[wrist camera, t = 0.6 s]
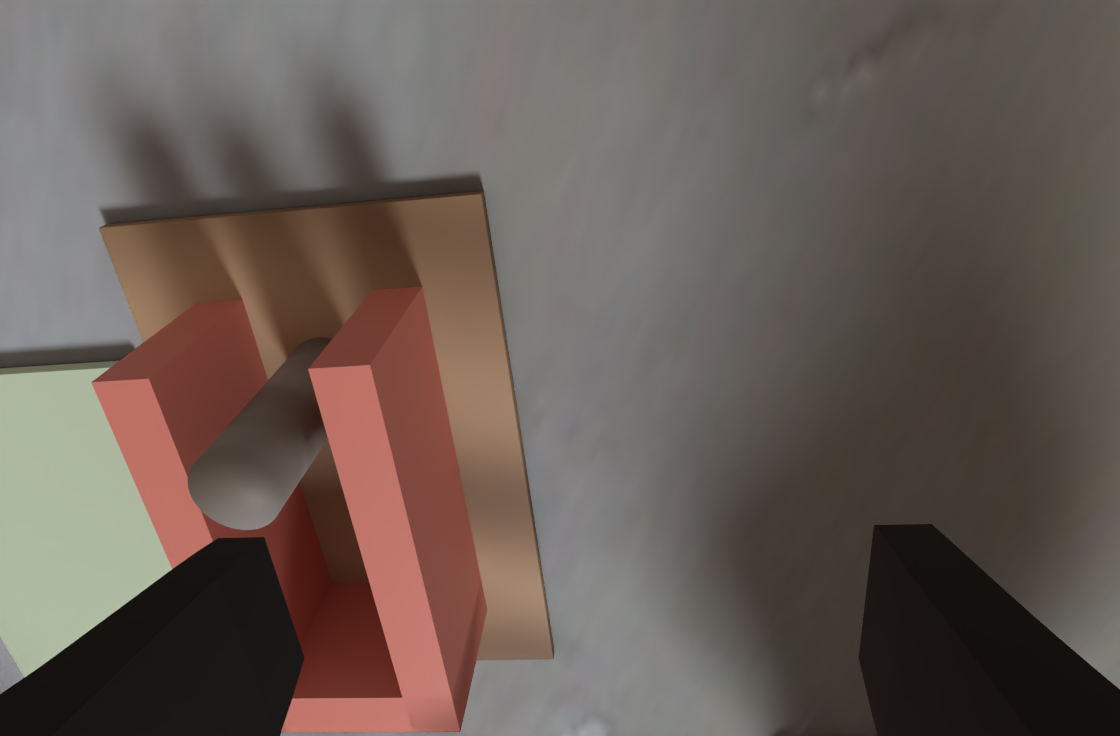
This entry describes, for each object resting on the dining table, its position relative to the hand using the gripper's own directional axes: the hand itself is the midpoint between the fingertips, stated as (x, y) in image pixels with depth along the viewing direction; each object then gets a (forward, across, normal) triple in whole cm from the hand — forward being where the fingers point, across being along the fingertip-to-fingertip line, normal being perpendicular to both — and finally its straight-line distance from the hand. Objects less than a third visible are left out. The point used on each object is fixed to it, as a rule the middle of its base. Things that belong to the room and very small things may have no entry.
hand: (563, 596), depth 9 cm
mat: (+10, +16, +6) cm, 19 cm away
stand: (+10, +7, +4) cm, 13 cm away
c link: (+9, +7, +4) cm, 12 cm away
